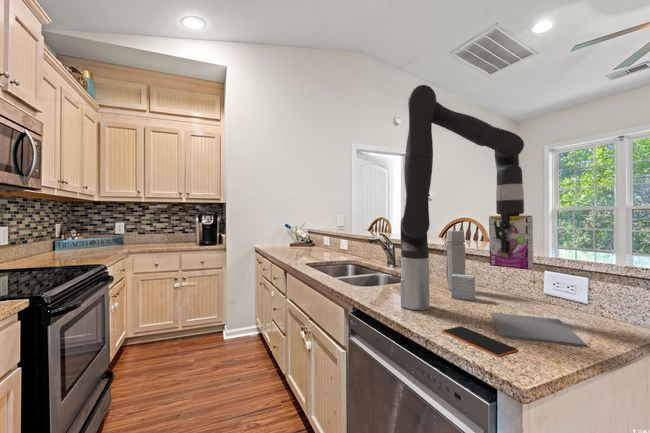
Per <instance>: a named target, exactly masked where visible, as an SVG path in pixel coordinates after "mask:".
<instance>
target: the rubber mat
mask: <svg viewBox="0 0 650 433" xmlns="http://www.w3.org/2000/svg"><path fill="white" fill-rule="evenodd" d="M490 317H491V319H492V321H493V323H494V324H493V325H494V326H495V329H496V331H497V332H498V335H499V337H501V338H508V339H515V340H517V339H518V340H525V341H532V342H541V343H550V344H559V345H564V346H565V345H566V346H573V347H584V348H588V344H587V343H586V342H585V341H583V339H581V338H580V337H579V336H578V335H577V334H576V333H575V332H574V331H572V329H571V328H569V327H568V326H567V325H566V324H565V323H564V322H563V321H562V320H561V319H559V318H551V317H541V316H529V315H519V314H508V313H499V312H490Z"/></svg>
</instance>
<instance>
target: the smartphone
mask: <svg viewBox="0 0 650 433" xmlns="http://www.w3.org/2000/svg"><path fill="white" fill-rule="evenodd" d="M441 332H442V333H443V334H445V335H447V336H450V337H453V338H454V339H457V340H459V341H461V342H463V343H466V344H468V345H470V346H472V347H474V348H476V349H477V350H478V349H479V350H481V351H484V352H485V353H487V354H489V355H493V356H495V357H497V358H500V357H503V356H504V357H505V356H507V355H511V354H514V353H517V352H519V349H518V348H517V347H514V346H511V345H509V344H507V343H504V342H502V341H499V340H497V339H494V338H491V337H489V336H486V335H484V334H482V333H479V332H477V331H474V330H472V329H469V328H466V327H464V326H460V325H459V326H455V327H451V328H447V329H443V330H442V331H441Z"/></svg>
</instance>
